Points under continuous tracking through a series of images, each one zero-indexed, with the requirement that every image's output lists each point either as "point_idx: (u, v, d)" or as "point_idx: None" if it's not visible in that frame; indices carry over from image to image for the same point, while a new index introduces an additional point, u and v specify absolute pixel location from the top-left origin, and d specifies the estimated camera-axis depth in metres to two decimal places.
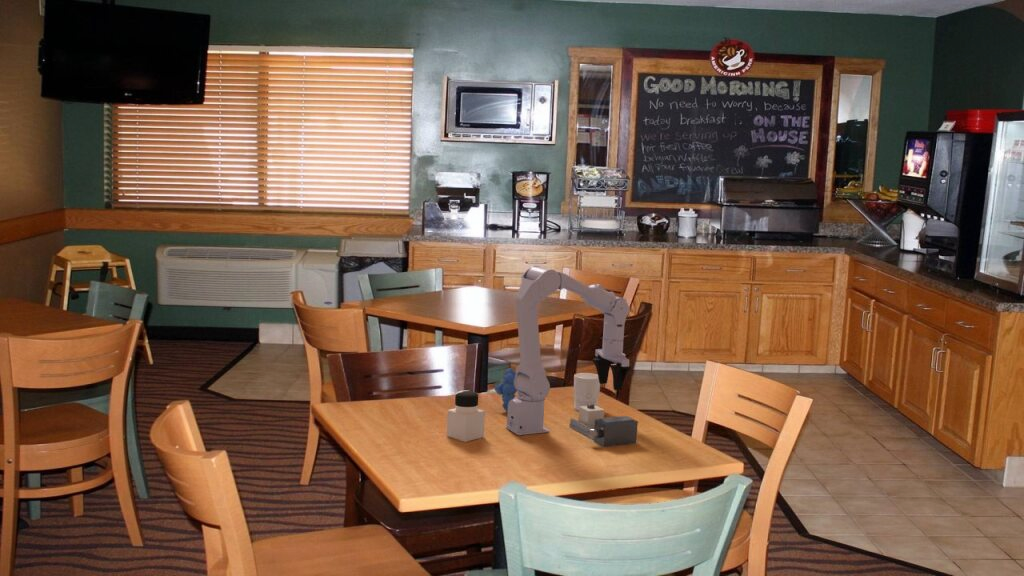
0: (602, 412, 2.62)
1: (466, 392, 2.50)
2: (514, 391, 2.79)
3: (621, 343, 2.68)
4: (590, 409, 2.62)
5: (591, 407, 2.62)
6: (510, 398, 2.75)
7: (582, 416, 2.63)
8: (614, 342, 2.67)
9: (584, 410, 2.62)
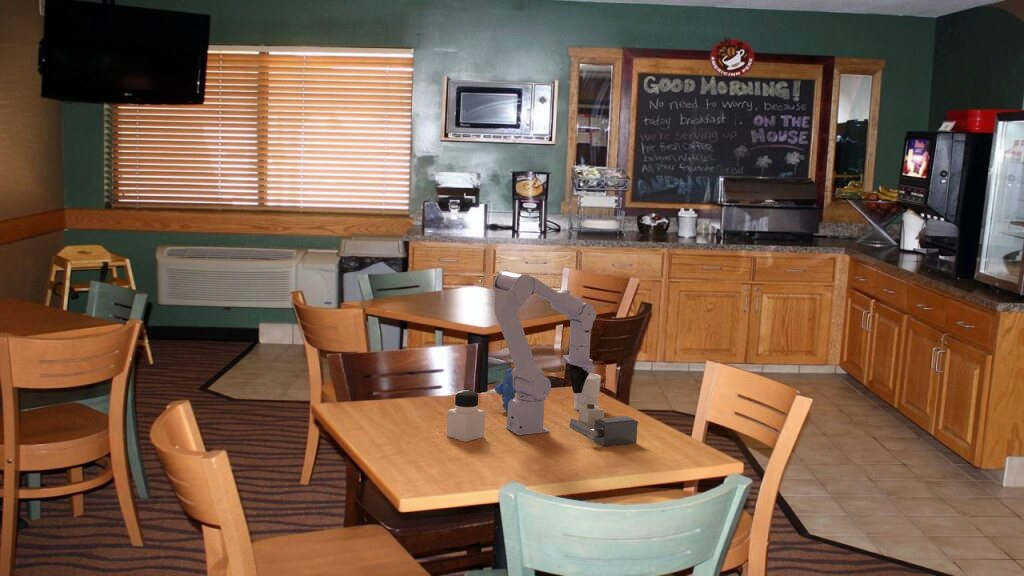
0: (602, 412, 2.62)
1: (466, 392, 2.50)
2: (514, 391, 2.79)
3: (587, 349, 2.66)
4: (590, 409, 2.62)
5: (591, 407, 2.62)
6: (510, 398, 2.75)
7: (582, 416, 2.63)
8: (580, 348, 2.65)
9: (584, 410, 2.62)
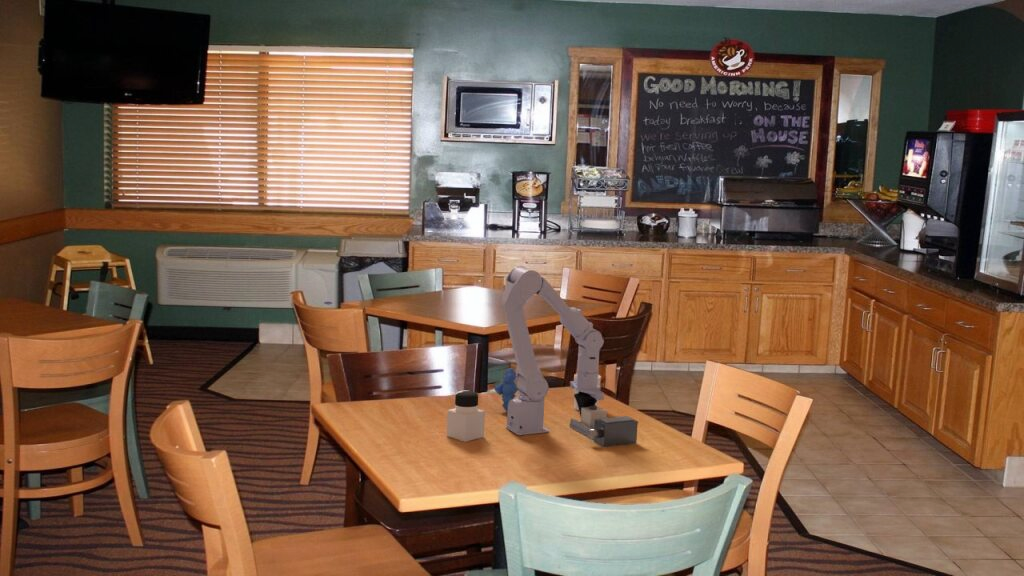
0: (604, 413, 2.61)
1: (466, 392, 2.50)
2: (514, 391, 2.79)
3: (596, 376, 2.63)
4: (592, 410, 2.60)
5: (594, 408, 2.61)
6: (510, 398, 2.75)
7: (584, 417, 2.62)
8: (588, 375, 2.62)
9: (586, 411, 2.60)
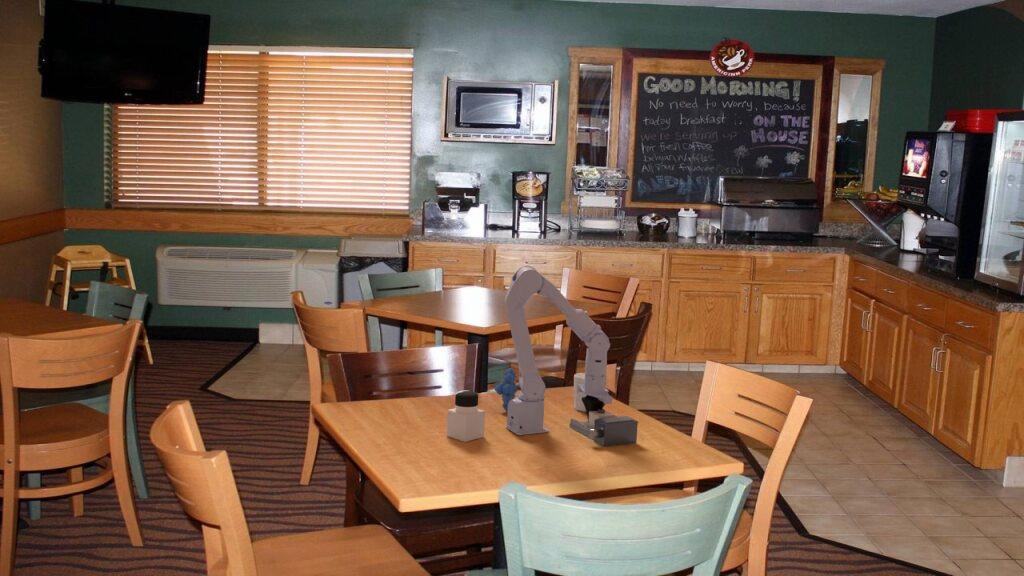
0: None
1: (466, 392, 2.50)
2: (514, 391, 2.79)
3: (604, 379, 2.59)
4: (600, 414, 2.57)
5: (602, 412, 2.58)
6: (510, 398, 2.75)
7: (592, 421, 2.58)
8: (596, 378, 2.58)
9: (594, 415, 2.57)
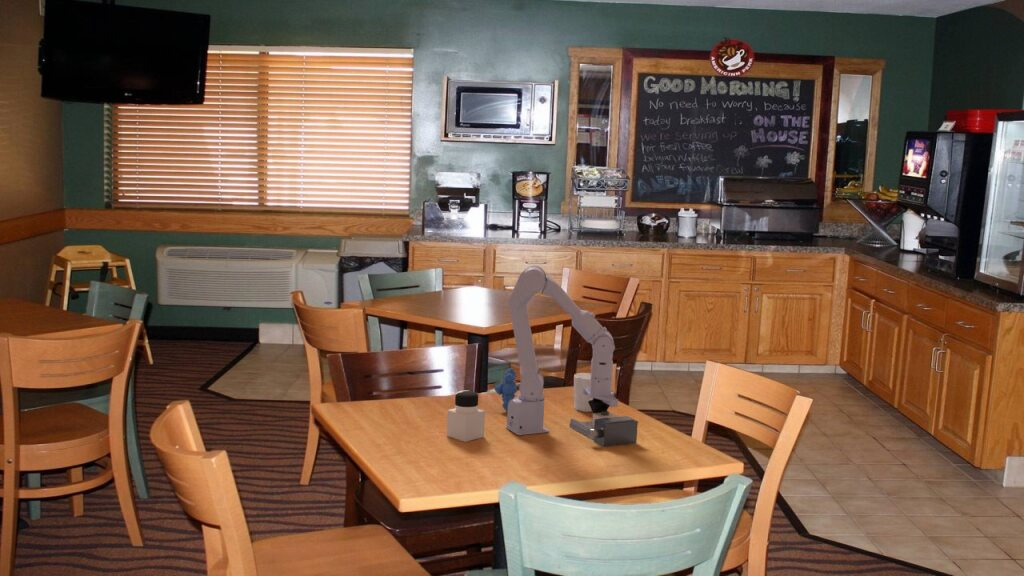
0: None
1: (466, 392, 2.50)
2: (514, 391, 2.79)
3: (609, 382, 2.57)
4: (604, 416, 2.55)
5: (606, 413, 2.56)
6: (510, 398, 2.75)
7: None
8: (602, 381, 2.56)
9: (598, 417, 2.55)
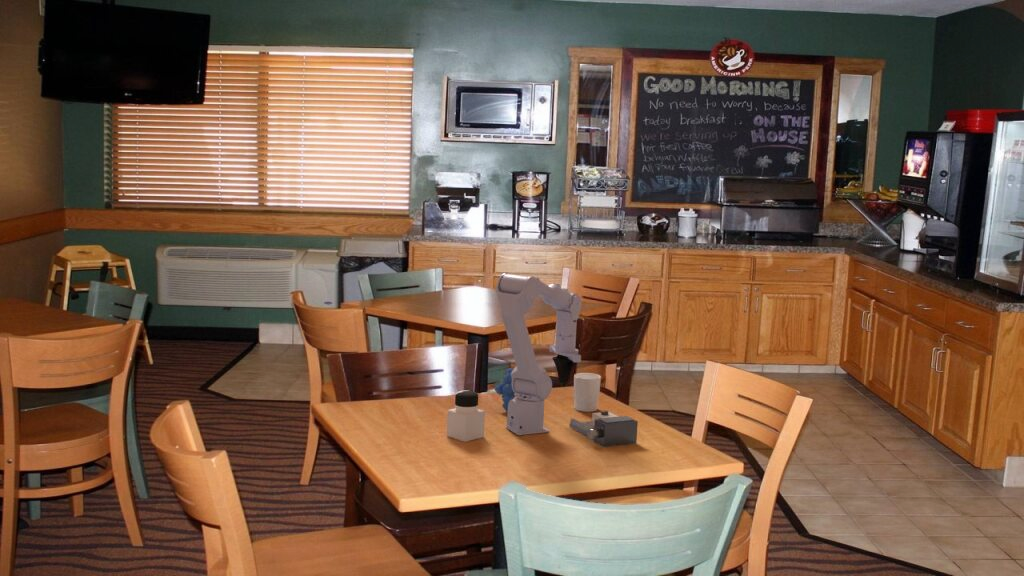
0: None
1: (466, 392, 2.50)
2: None
3: (573, 339, 2.69)
4: (604, 416, 2.55)
5: (605, 413, 2.56)
6: (510, 398, 2.75)
7: None
8: (566, 338, 2.68)
9: (598, 417, 2.55)
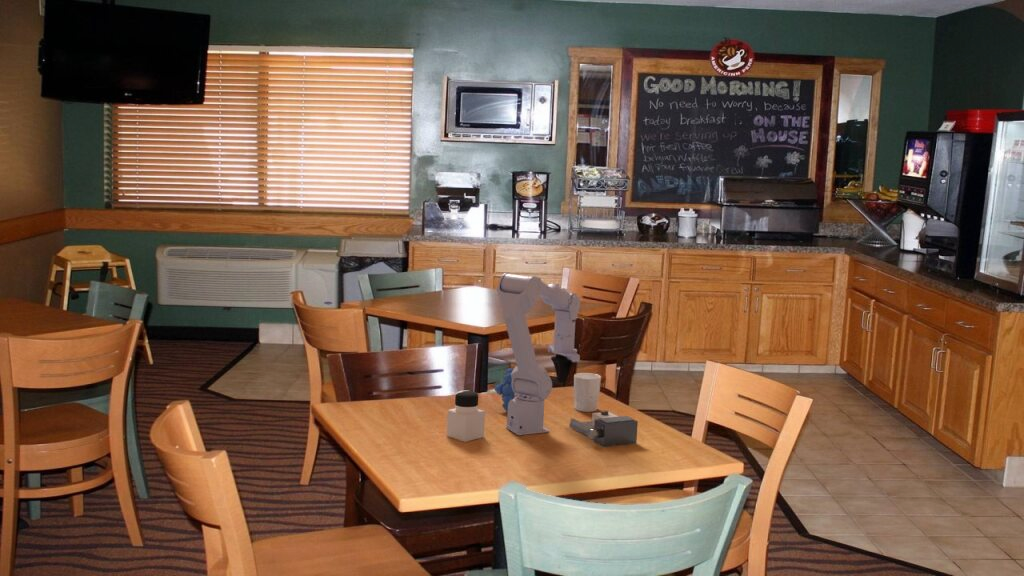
0: None
1: (466, 392, 2.50)
2: None
3: (572, 338, 2.70)
4: (604, 416, 2.55)
5: (605, 413, 2.56)
6: (510, 398, 2.75)
7: None
8: (565, 338, 2.69)
9: (598, 417, 2.55)
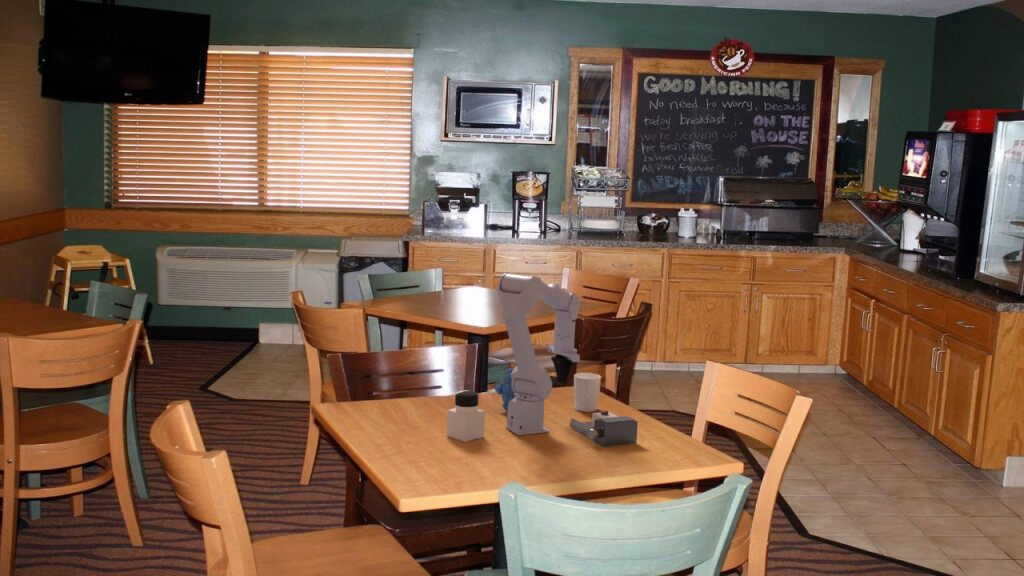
0: None
1: (466, 392, 2.50)
2: None
3: (572, 338, 2.70)
4: (604, 416, 2.55)
5: (605, 413, 2.56)
6: (510, 398, 2.75)
7: None
8: (565, 338, 2.69)
9: (598, 417, 2.55)
